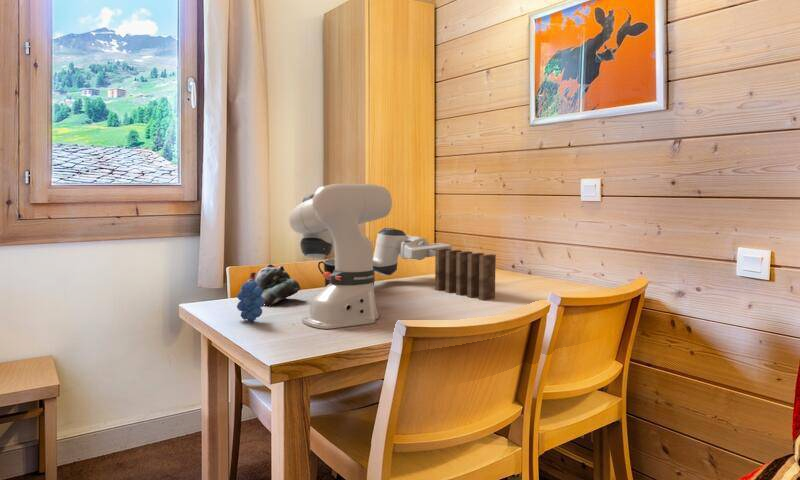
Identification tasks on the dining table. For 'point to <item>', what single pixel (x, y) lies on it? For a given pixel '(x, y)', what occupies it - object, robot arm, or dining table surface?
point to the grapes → (250, 301)
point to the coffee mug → (327, 268)
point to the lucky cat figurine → (274, 284)
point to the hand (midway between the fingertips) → (441, 254)
